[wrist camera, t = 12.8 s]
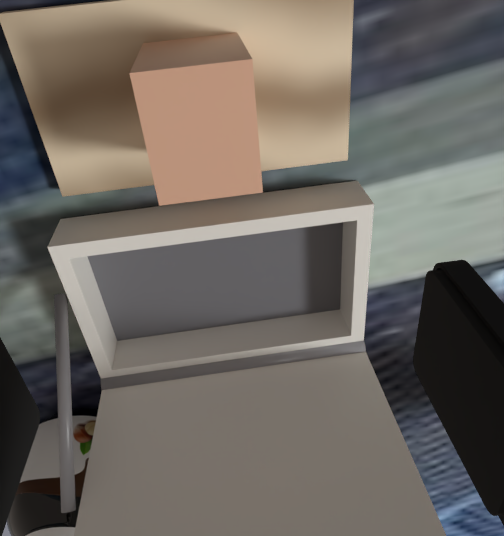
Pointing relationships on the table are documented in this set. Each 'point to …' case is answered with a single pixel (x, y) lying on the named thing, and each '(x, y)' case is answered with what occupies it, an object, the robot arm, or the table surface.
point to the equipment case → (232, 372)
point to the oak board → (171, 28)
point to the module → (198, 117)
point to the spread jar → (51, 479)
